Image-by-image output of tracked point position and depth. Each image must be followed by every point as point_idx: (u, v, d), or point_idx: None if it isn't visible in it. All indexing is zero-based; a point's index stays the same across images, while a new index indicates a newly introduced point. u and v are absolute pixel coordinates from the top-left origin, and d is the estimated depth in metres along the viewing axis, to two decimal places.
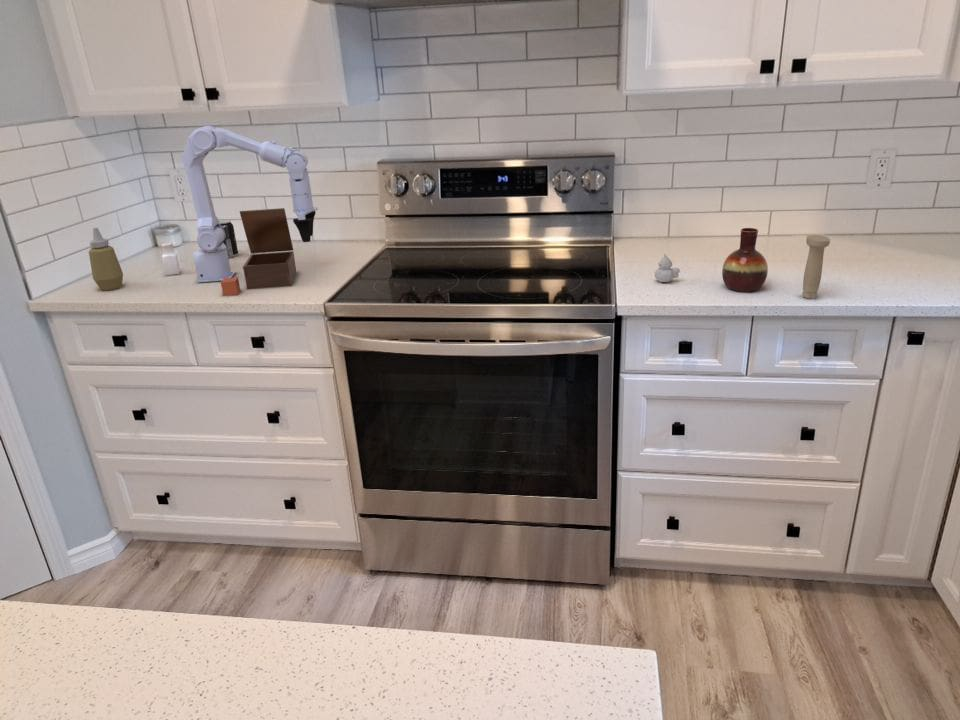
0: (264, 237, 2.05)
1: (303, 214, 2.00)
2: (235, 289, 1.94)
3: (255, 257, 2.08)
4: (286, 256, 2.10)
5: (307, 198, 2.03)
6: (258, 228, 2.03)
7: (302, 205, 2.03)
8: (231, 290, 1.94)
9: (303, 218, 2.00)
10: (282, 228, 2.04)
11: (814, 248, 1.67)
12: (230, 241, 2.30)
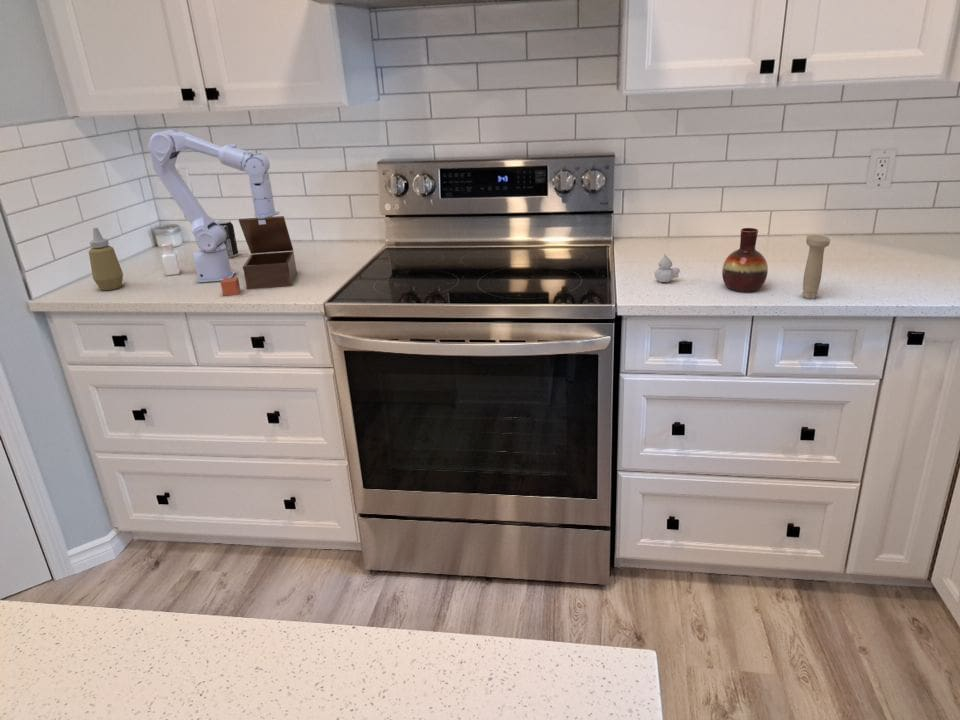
0: (264, 240, 2.04)
1: None
2: (235, 289, 1.94)
3: (255, 257, 2.08)
4: (286, 256, 2.10)
5: (268, 202, 2.00)
6: (258, 233, 2.02)
7: (263, 209, 2.00)
8: (231, 290, 1.94)
9: (264, 223, 1.98)
10: (282, 233, 2.03)
11: (813, 248, 1.67)
12: (230, 241, 2.30)
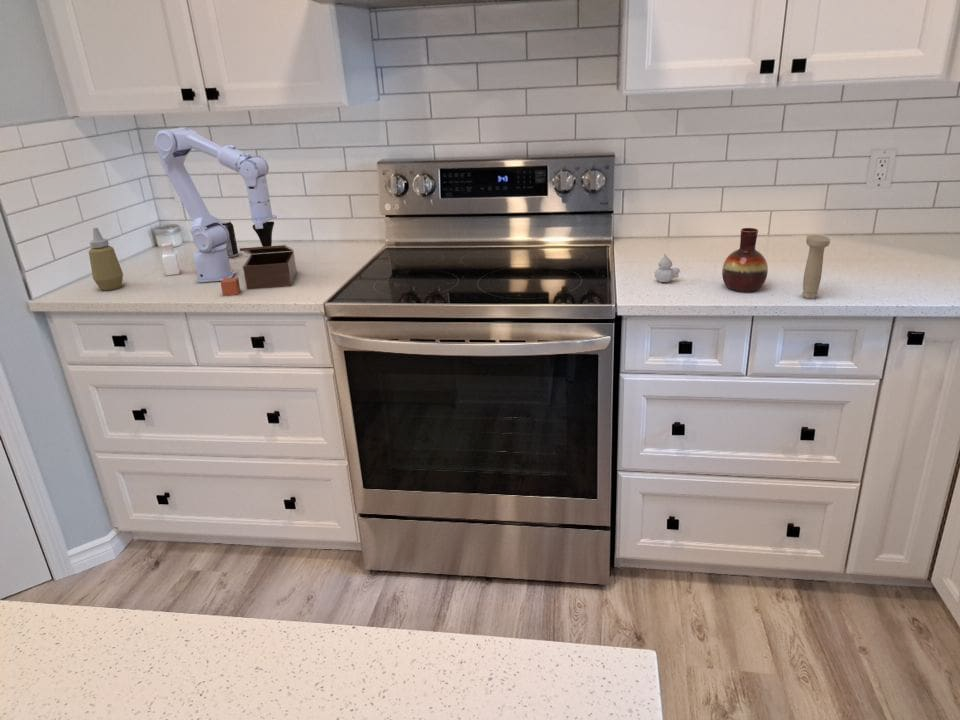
0: (264, 251, 2.04)
1: (260, 223, 1.92)
2: (235, 289, 1.94)
3: (255, 257, 2.08)
4: (286, 256, 2.10)
5: (265, 206, 1.95)
6: (259, 250, 2.00)
7: (260, 213, 1.95)
8: (231, 290, 1.94)
9: (260, 227, 1.92)
10: (283, 249, 2.02)
11: (813, 248, 1.67)
12: (230, 241, 2.30)
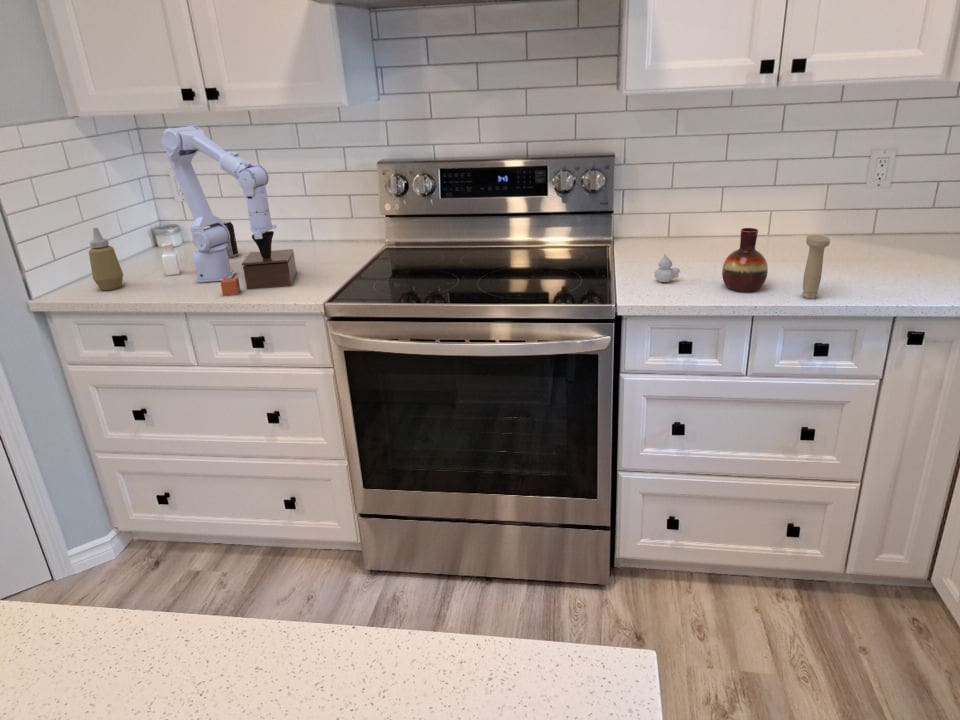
0: None
1: (260, 233, 1.90)
2: (235, 289, 1.94)
3: None
4: None
5: (265, 216, 1.93)
6: None
7: (260, 223, 1.93)
8: (231, 290, 1.94)
9: (260, 237, 1.90)
10: None
11: (813, 248, 1.67)
12: (230, 241, 2.30)
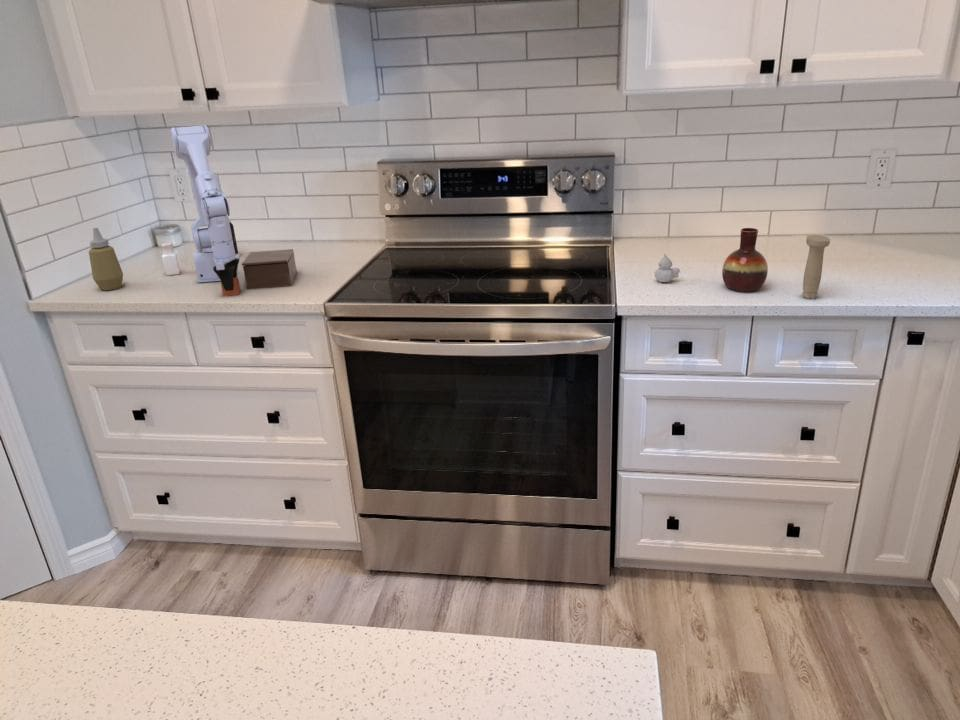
0: None
1: (222, 264, 1.86)
2: (235, 289, 1.94)
3: None
4: None
5: (227, 246, 1.89)
6: None
7: (222, 253, 1.89)
8: (231, 290, 1.94)
9: (222, 268, 1.86)
10: None
11: (813, 248, 1.67)
12: None
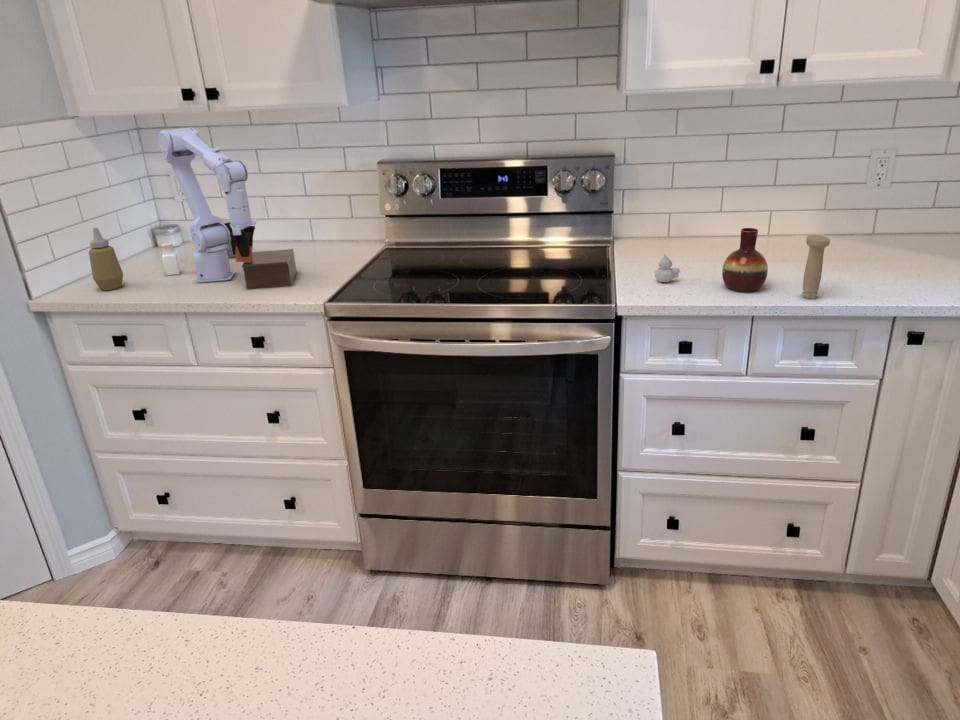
0: None
1: (238, 229, 1.87)
2: (249, 256, 1.96)
3: None
4: None
5: (244, 212, 1.90)
6: None
7: (239, 219, 1.90)
8: (244, 257, 1.95)
9: (238, 233, 1.88)
10: None
11: (813, 248, 1.67)
12: (230, 241, 2.30)
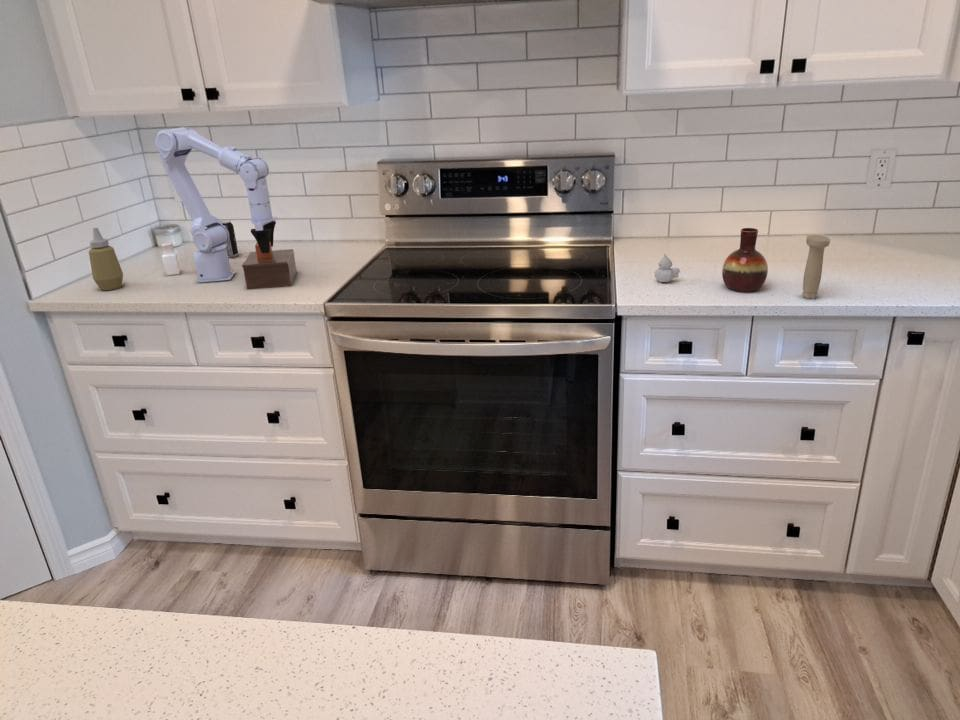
0: None
1: (260, 225, 1.92)
2: (269, 252, 2.00)
3: None
4: None
5: (265, 208, 1.95)
6: None
7: (260, 215, 1.95)
8: (265, 254, 2.00)
9: (260, 229, 1.92)
10: None
11: (813, 248, 1.67)
12: (230, 241, 2.30)
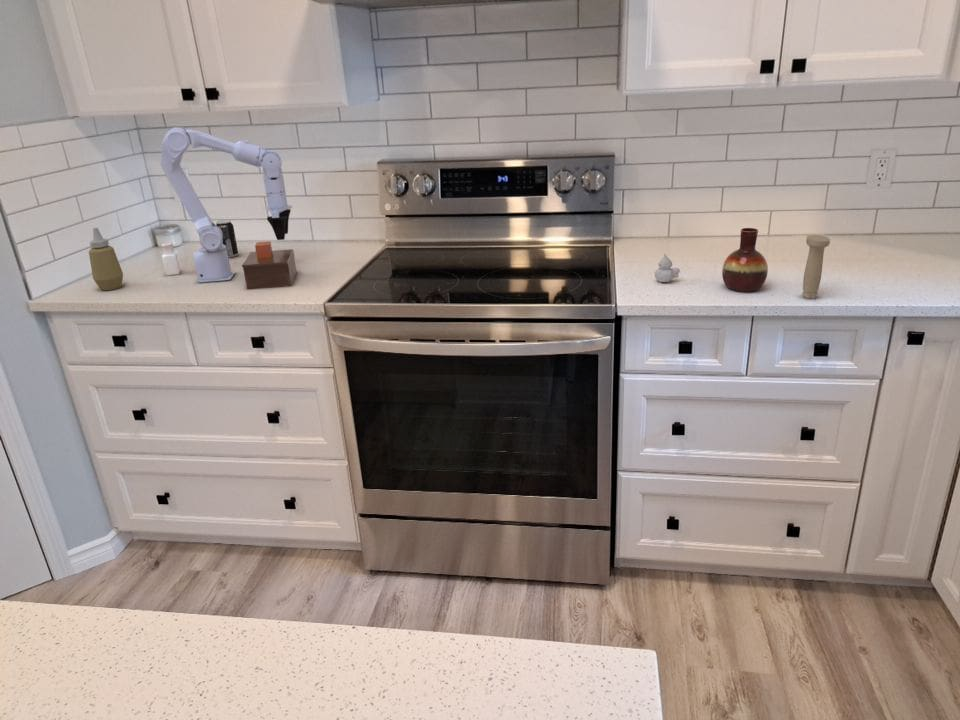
0: None
1: (277, 212, 2.02)
2: (269, 252, 2.00)
3: None
4: None
5: (281, 196, 2.06)
6: None
7: (276, 203, 2.06)
8: (265, 254, 2.00)
9: (277, 216, 2.03)
10: None
11: (813, 248, 1.67)
12: (230, 241, 2.30)
